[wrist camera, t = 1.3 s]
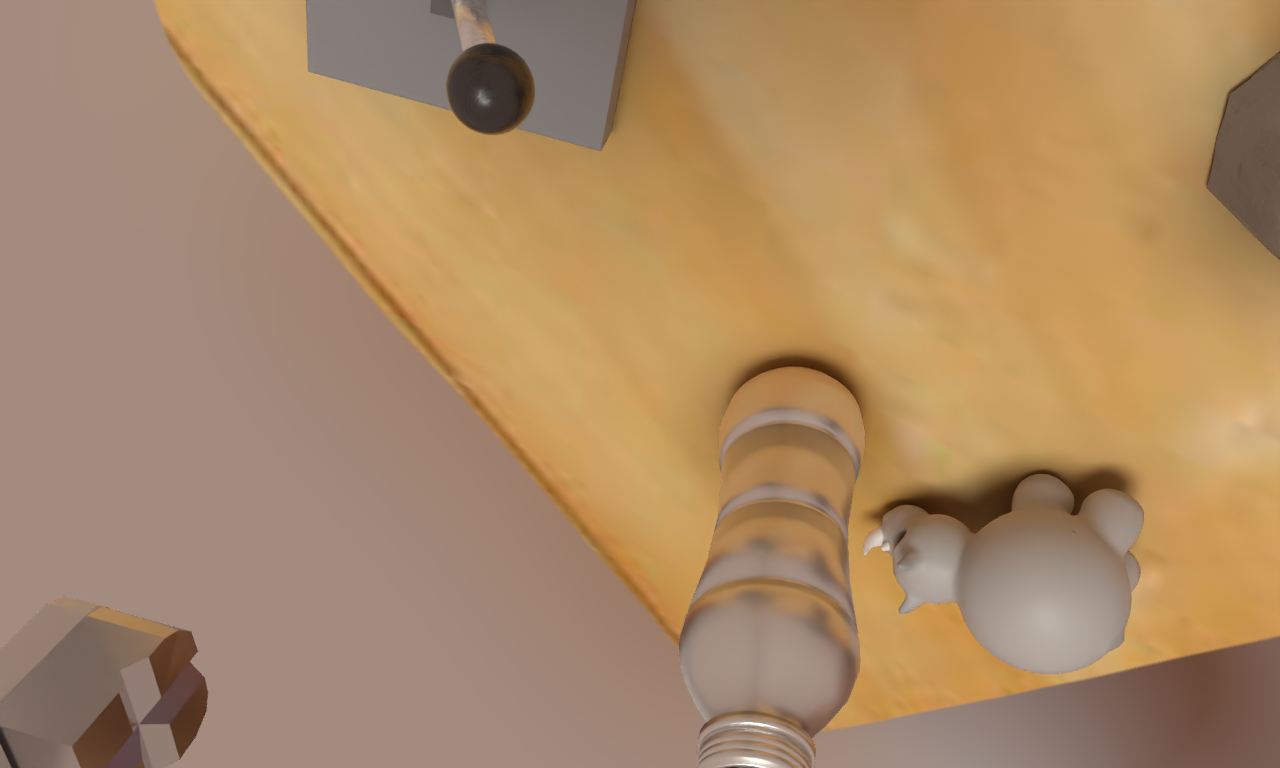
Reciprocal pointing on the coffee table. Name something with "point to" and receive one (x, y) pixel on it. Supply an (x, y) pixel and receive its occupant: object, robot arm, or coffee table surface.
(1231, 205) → the coffeepot
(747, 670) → the plastic bottle
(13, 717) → the robot arm
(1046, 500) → the round bodied animal figurine
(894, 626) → the coffee table surface
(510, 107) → the toggle lever
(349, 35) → the control panel
